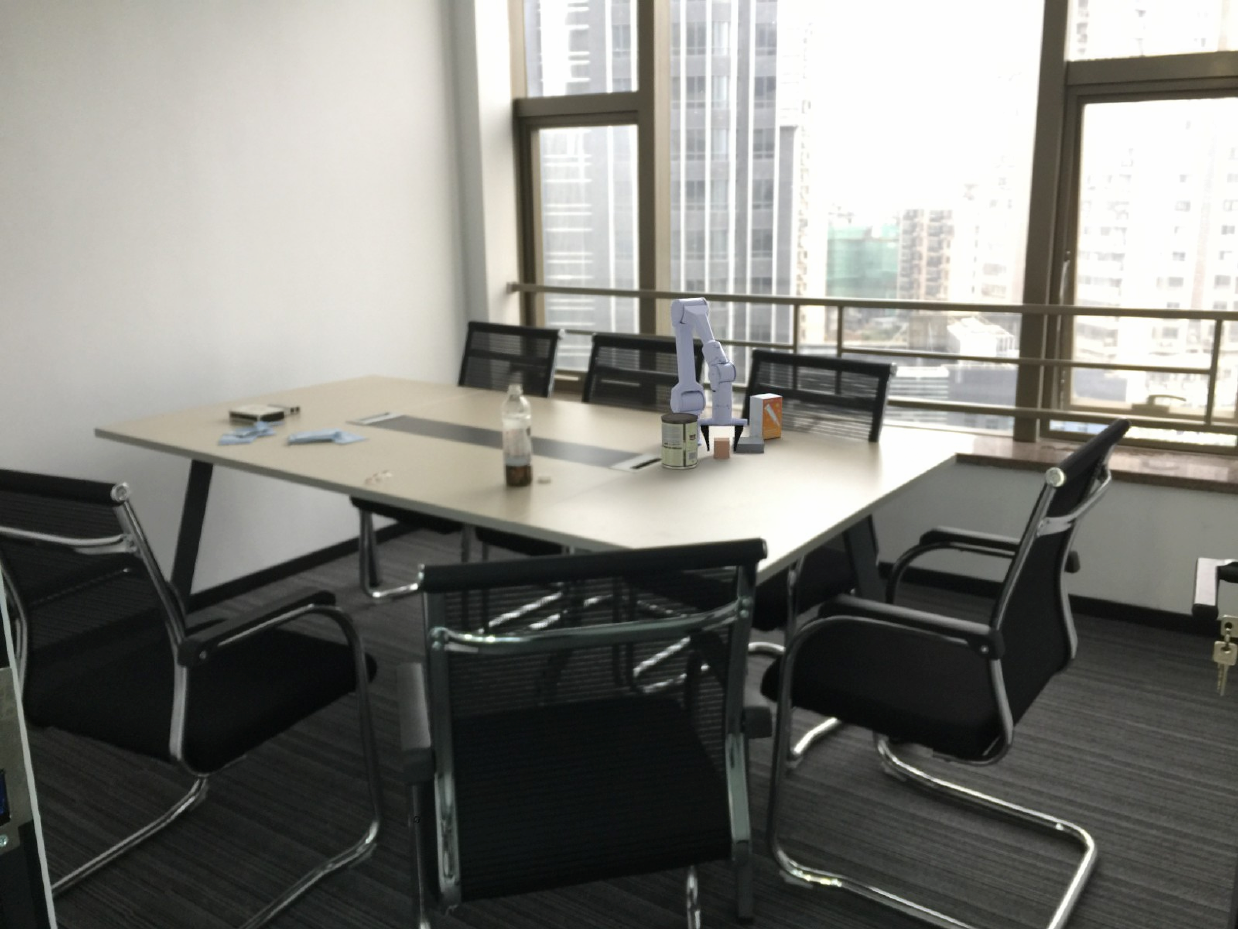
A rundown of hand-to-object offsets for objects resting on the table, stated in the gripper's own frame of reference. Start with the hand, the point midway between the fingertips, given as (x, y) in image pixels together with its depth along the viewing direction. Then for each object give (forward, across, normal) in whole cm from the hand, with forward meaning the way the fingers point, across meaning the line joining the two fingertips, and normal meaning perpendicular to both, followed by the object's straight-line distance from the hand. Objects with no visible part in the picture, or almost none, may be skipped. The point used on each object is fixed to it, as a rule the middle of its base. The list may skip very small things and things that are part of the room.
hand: (721, 450), depth 311 cm
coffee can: (+2, -12, -11) cm, 16 cm away
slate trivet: (+2, +8, +9) cm, 12 cm away
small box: (+2, +14, +25) cm, 29 cm away
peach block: (+2, 0, 0) cm, 2 cm away
